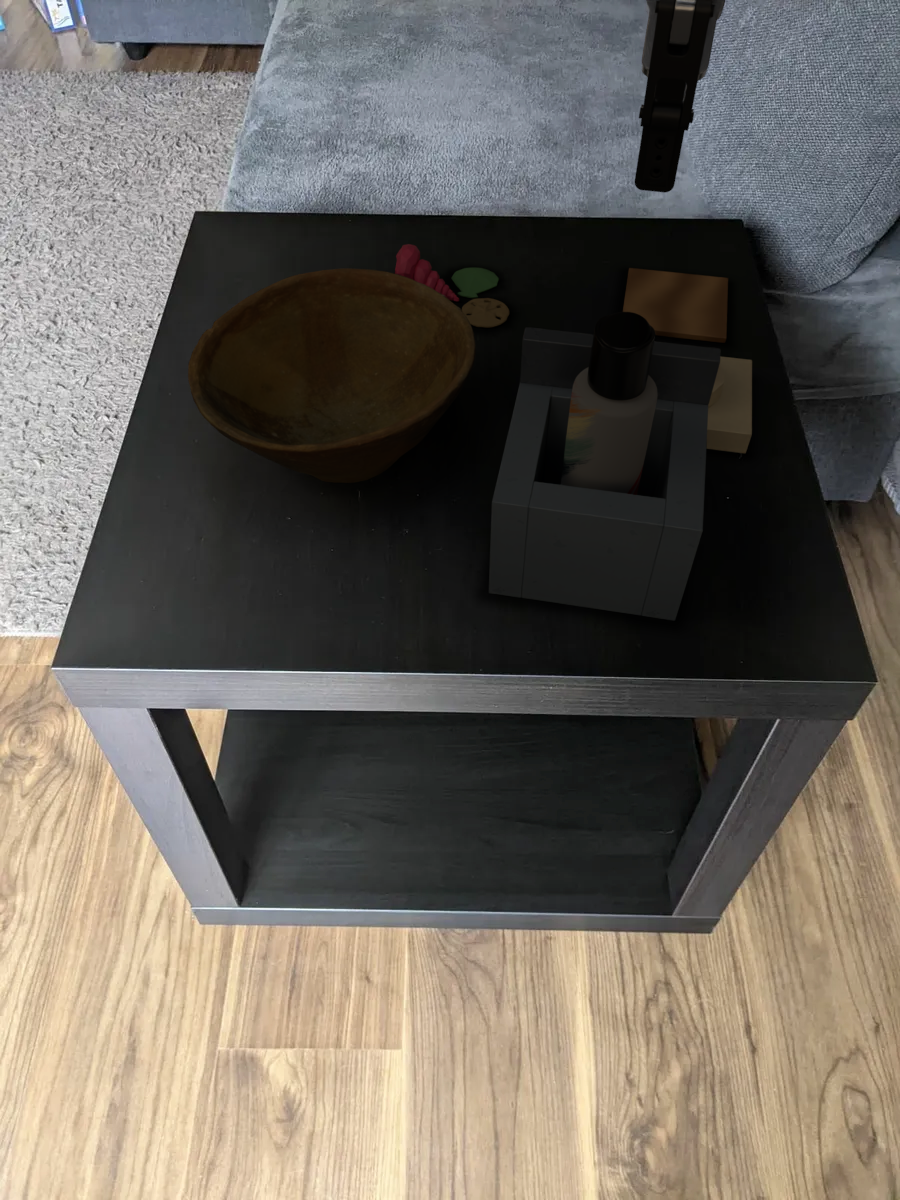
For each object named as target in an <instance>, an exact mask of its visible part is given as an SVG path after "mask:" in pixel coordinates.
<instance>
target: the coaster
mask: <svg viewBox="0 0 900 1200" xmlns="http://www.w3.org/2000/svg"><path fill="white" fill-rule="evenodd" d="M728 295H729V277H723V276H713V275H702V274H693V273H684V272H674V271H664V270H655V269H654V270H653V269H645V268H644V269H643V268H635V267H628V271H627V279H626V285H625V293H624V300H623V307H622V312H633V313H636V314H639V315H641V316H642V317H644V318H645V319H646V320H647V321H648V323H649V325H651V326H652V327H653V328H654V330H655V336H659V337H665V338H676V339H685V340H695V341H704V342H711V343H722V344H725V343H726V341H727V335H728V334H727V333H728V330H727V329H728V299H729V298H728Z"/></svg>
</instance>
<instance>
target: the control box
mask: <svg viewBox="0 0 900 1200" xmlns="http://www.w3.org/2000/svg"><path fill="white" fill-rule="evenodd" d="M752 434H753V360H752V359H746V358H739V357H738V358H736V357H728V356H721V355H720V364H719V368H718V372H717V376H716V379H715V383H714V387H713V390H712V394H711V398H710V401H709V404H708V425H707V448H706V450H713V451H722V452H729V453H739V454H746V453H747V450H748V447H749V445H750V442H751V438H752Z"/></svg>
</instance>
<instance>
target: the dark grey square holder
mask: <svg viewBox="0 0 900 1200" xmlns="http://www.w3.org/2000/svg"><path fill="white" fill-rule="evenodd" d="M593 335H594V333H583V332H575V331H574V332H573V331H565V330H558V329H557V330H556V329H548V328H537V327H528V326H526V327H525V328H524V331H523V336H522V342H521V343H522V344H521V345H522V346H521V356H520V357H521V358H520V359H521V360H520V374H519V384H518V390H517V394H516V399H515V402H514V407H513V411H512V415H511V420H510V423H509V428H508V432H507V435H506V441H505V444H504V450H503V453H502V457H501V462H500V466H499V470H498V475H497V479H496V483H495V488H494V492H493V495H492V499H491V519H490V542H489V543H490V547H489V569H488V571H489V573H488V575H489V576H488V594H493V595H499V596H507V597H513V598H519V599H520V598H522V599H528V600H535V601H541V602H548V603H553V604H554V603H555V604H561V605H568V606H574V607H581V608H589V609H594V610H599V611H600V610H602V611H608V612H614V613H621V614H628V615H635V616H641V617H648V618H653V619H661V620H667V621H673V622H674V621H676V620H677V617H678V613H679V610H680V606H681V603H682V599H683V596H684V593H685V590H686V587H687V584H688V581H689V577H690V574H691V571H692V567H693V565H694V560H695V557H696V555H697V551H698V548H699V545H700V541H701V538H702V534H703V531H704V515H705V514H704V513H705V511H704V510H705V491H706V489H705V488H706V468H707V467H706V466H707V465H706V464H707V449H706V448H707V425H708V404H709V401H710V398H711V394H712V390H713V387H714V383H715V379H716V376H717V372H718V368H719V364H720V356H721V351H722V350H721V348H719V347H718V348H717V347H710V346H709V347H708V346H699V345H691V344H681V343H672V342H662V341H655V340H654V346H653V351H652V357H651V362H650V368H649V373H648V375H649V376H650V377H651V378H652V379H653V381H654V382H655V384H656V387H657V403H656V408H655V413H654V417H653V422H652V427H651V432H650V436H649V441H648V446H647V450H646V455H645V460H644V464H643V469H642V474H641V478H640V483H639V488H638V492H637V495H633V494H626V493H618V492H611V491H603V490H596V489H588V488H581V487H573V486H566V485H561V477H562V469H563V460H564V452H565V444H566V435H567V427H568V419H569V410H570V402H571V395H572V389H573V384H574V381H575V379H576V377H577V376H578V375H579V373H581V372H582V371H583V370H584V369H586V368H588V367H589V362H590V355H591V348H592V342H593Z"/></svg>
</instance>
